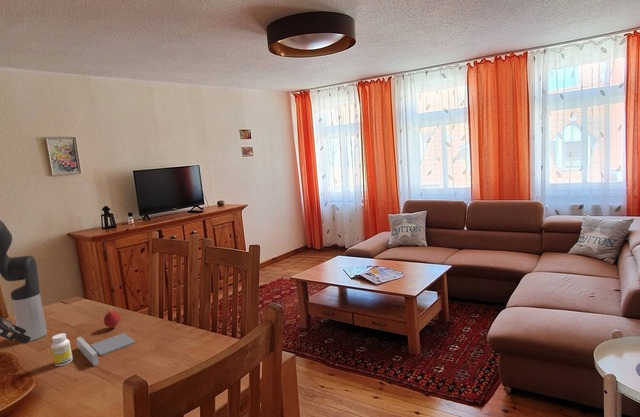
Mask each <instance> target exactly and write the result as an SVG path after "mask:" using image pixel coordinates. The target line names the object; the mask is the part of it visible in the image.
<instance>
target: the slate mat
mask: <svg viewBox="0 0 640 417" xmlns="http://www.w3.org/2000/svg"><path fill="white" fill-rule="evenodd" d="M136 342H137V341H135V340H134V339H133V338H132V337H130V336H129V335H128V334H127V333H125V332H122V333H120V334H117V335H113V336H111V337H109V338H106V339H102V340H99V341H97V342H94V343H91V344H90V346H91V347H92V348H93V349H94V350H95V351H96V352H97V355H98V356H104V355H106V354H110V353H112V352H115V351H117V350H121V349H123V348H126V347H129V346H131V345H134V344H136Z"/></svg>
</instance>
